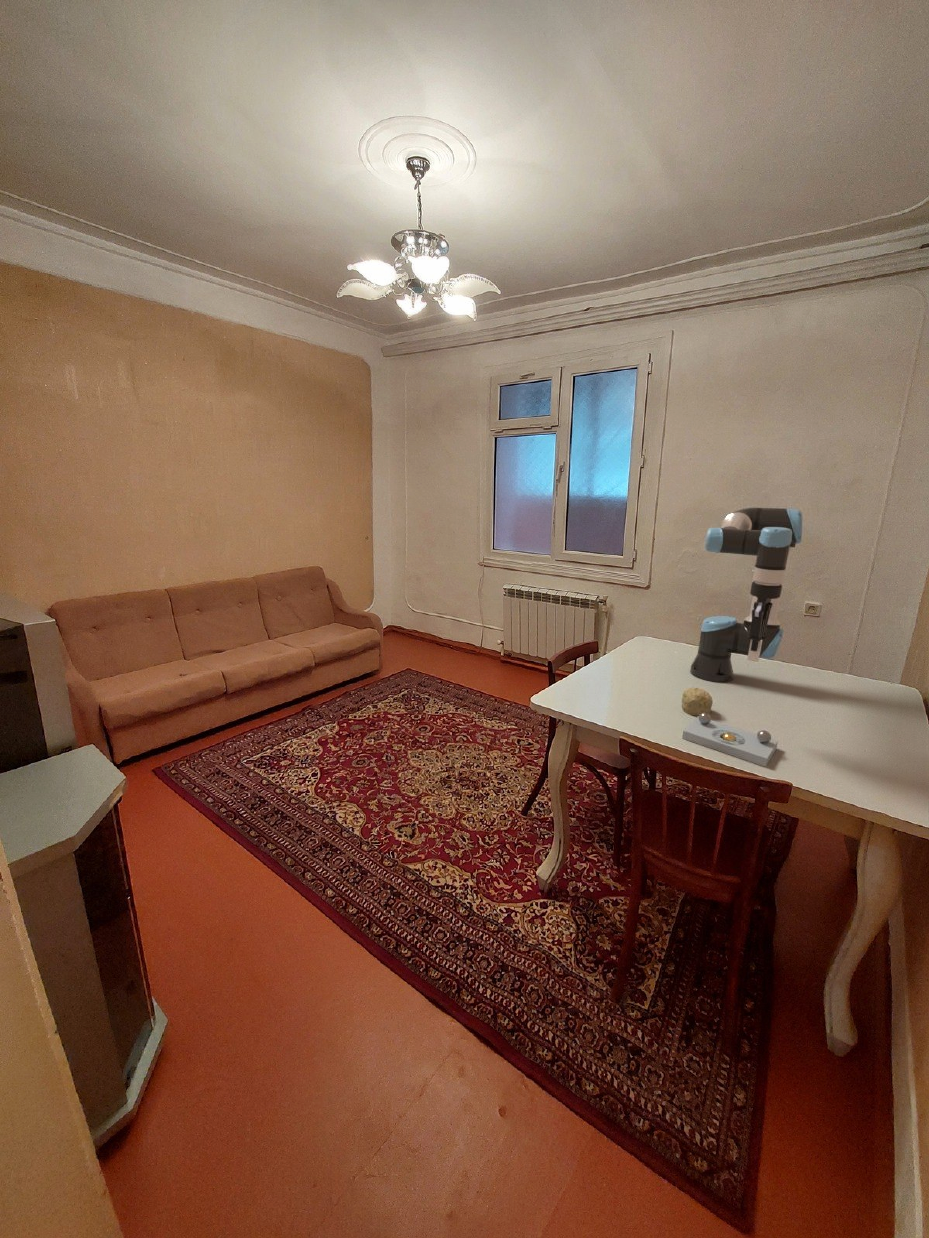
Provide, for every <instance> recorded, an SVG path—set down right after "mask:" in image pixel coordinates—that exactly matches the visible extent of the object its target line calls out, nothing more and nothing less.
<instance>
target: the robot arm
mask: <svg viewBox="0 0 929 1238" xmlns="http://www.w3.org/2000/svg"><path fill="white" fill-rule="evenodd" d="M802 535H803V512H802V511H801V510H799V509H794V508H778V507H777V508H775V507H745V508H743V509H742V508H741V509H738V510H735V511H733V512H731V513H730V514H727V516H726V517H724V518H723V520H722V522H721V527H709V528H708V530H707V532H706V536H705V544H704V546H705V547H704V548H705V551H706V552H711V553H715V554H719V553H720V554H732V555H733V554H735V555H745V556H755V557H756V560H755V564H754V568H753V569H752V570H751V573H753V577H752V582H751V586H750V592H749V594H750V595H751V596H752V600H751V606H750V611H749V615H748V616H746V617H745V618H744V619H743V623H741V622H738V619H737V618H736V617H734V616H727V615H717V616H716V615H715V616H714V615H713V616H708V617H706V618H705V619H703V621H702V625H701V629H700V635H699V643H698V648H697V654H696V656H695V658H694V660H693V661H692V662H691V665H690V669H689V672H690V674H691V675H693V676H694V677H696V678H698V679H701V680H704V681H709V682H714V683H715V682H718V683H725V682H729V681H732V679H733V677H734V670H733V665H732V659H731V658H732V654H736V655H742V656H747V658H746V659H747V660H748V661H752V662H756V663H759V660H760V659H767V660H771V659H773V658H775V657H776V655H777V652H778V650H779V647H780V644H781V641H782V638H783V636H784V632H785V631H784V629H782V628H780V626H781V623H780V621H779V620H778V619H777V617H778V613H779V612H778V611H779V605H780V602H781V597H782V591H783V585H784V582H785V581H784V580H785V577H786V576H785V575H786V570H787V564H788V559H789V554H790V552H792V551H793V550H795V548H796V544H801V543H802Z"/></svg>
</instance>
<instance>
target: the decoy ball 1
mask: <svg viewBox="0 0 929 1238" xmlns="http://www.w3.org/2000/svg"><path fill="white" fill-rule="evenodd" d="M711 720H712V716H711V715H710V713H709V714H708V713H701V714H700V715H699V721H700V722H701V723H702V724H709V723H710V722H711Z"/></svg>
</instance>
